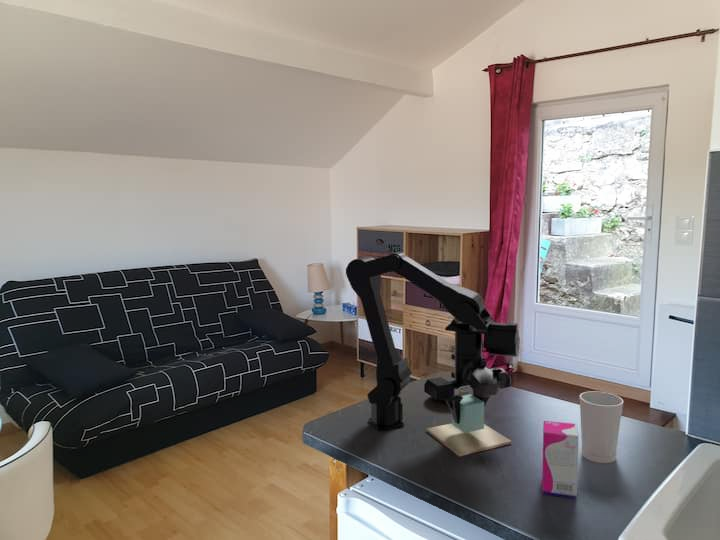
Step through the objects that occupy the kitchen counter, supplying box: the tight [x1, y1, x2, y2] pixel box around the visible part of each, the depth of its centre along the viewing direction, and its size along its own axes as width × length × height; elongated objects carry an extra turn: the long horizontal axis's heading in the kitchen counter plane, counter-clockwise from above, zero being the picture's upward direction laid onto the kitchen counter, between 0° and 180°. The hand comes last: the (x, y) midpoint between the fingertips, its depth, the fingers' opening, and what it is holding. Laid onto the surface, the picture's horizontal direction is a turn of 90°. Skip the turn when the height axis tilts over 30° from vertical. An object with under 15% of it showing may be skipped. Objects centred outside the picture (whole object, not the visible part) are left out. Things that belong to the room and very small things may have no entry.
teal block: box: [451, 393, 485, 433], centre depth 116 cm, size 5×5×6 cm
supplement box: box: [541, 420, 579, 500], centre depth 95 cm, size 6×6×12 cm
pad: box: [426, 422, 512, 457], centre depth 117 cm, size 13×13×1 cm
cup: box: [579, 390, 624, 464], centre depth 107 cm, size 8×8×12 cm
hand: (467, 421), depth 116 cm, fingers closed on teal block, 5 cm apart
